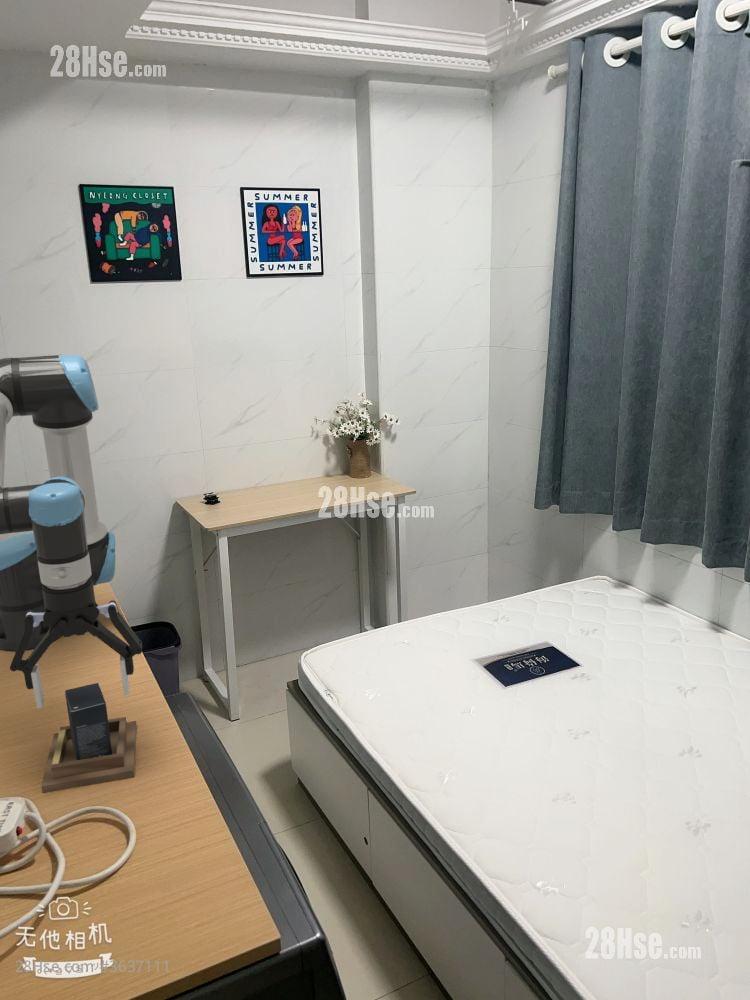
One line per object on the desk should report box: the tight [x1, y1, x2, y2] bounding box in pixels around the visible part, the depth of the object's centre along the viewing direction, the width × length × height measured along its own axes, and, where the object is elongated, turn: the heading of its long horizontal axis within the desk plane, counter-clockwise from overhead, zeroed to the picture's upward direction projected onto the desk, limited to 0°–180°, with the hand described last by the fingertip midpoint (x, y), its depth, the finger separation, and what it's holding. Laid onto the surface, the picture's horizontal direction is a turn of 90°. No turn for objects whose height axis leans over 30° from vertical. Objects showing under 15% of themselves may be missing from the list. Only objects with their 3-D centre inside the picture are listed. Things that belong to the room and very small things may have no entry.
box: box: [64, 682, 112, 760], centre depth 127 cm, size 8×6×11 cm
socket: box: [41, 716, 138, 794], centre depth 128 cm, size 15×14×3 cm
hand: (84, 697), depth 125 cm, fingers open, 13 cm apart
